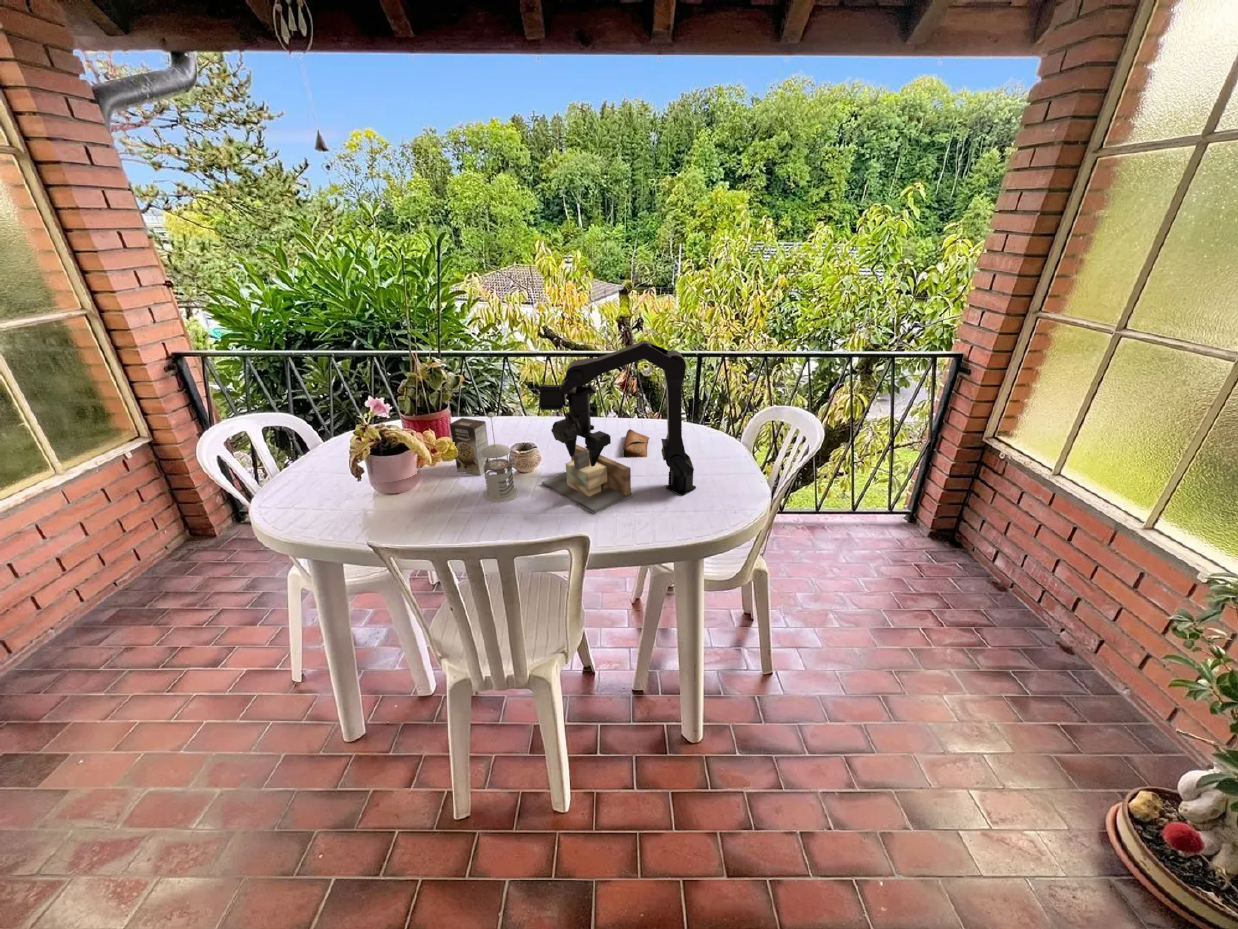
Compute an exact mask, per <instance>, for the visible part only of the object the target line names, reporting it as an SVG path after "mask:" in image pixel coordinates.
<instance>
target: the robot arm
mask: <svg viewBox="0 0 1238 929" xmlns="http://www.w3.org/2000/svg"><path fill="white" fill-rule="evenodd" d="M643 360H645V361H647V362H649V363H651V364H652V365H654V366H656V367H657V368H658V369H662V371H663V375H664V380H665V385H666V412H667V415H666V416H667V418H666V419H667V421H666V422H667V434H666V438H660V439H661V440H660V441H661V445H662V447H661V450H660V451H661V455H662V460H663V461H665V464H666V466H667V467H668V468H669V471H668V485H666V486H665V489H667V490H668V491H671V492H672V493H675V494H678V495H680V496H685V495H687V494H688V493H690V492H692V491H695V489H697V486H696V485H694V471H695V468H694V465H693V461H692V460H691V457H690V455H688V454H687V453H686V449H685V444H684V440H683V437H682V434H683V432H682V430H683V428H682V427H683V426H682V420H683V417H682V416H683V415H682V413H683V412H682V411H683V410H682V388H683V384H684V380H685V376H686V370H687V364H686V363H687V362H686V360H685V359H684V357H683V355H682V353H680V351H678V350H675V349H670V350H668V349H667V348H664V347H660V346H658V345H656V344H653V343H651V342H650V341H648V340H641V341H639V342H638V343H635V344H632V345H629V346H627V347H622V348H621V349H619V350H616V351H613V352H610V353H608V354H607V353H606V354H604V355H602V356H599V357H593V358H592V357H591V358H590V357H589V358H582V359H576V360H573V361H571V362H570V363H569V365H568V366H567V368H566V369H567V370H566V373H565V377H564V378H563V379H562V381H561V384H547V383H544V384H540V386H539V408H540V411H557V410H558V411H560V410H563V409H564V407H566V406H567V405H568V412H565V414H564V417H565V418H562V419H560V420H558V421H554V423H553V424H552V426H551V427H552V428H551V434H552V435H553V438H554V439H555V441H558V442H560V443H561V444H564V445H565V448H566V450H567V453H568V455H569V457H570V458H571V457H573V456H574V454H575V448H576V445H577V439H578V437H581V438H583V439H584V443H585V446H584V448H586V449H588V450H589V456H590V463H591V466H592V467H593V466H595V464H596V462H597V460H598V458H599V455H601V453H602V452H603V449H604V448H605V447H607V446H608V445H610V444H611V440H612V439H611V435H610V434H609V433H606V432H603V431H601V430H598V431H595V432H592V431H593V430H595V425H593V424H592V423H591V417H592V416H594V415H595V414H594V411H592V410H591V406H590V404H591V403H590V395H595V394H596V393H597V388H596V387H595V386H594V385H593V384H592V383H591V382H593V380H595V379H596V378H597V377H599V376H601V375H603V374H604V373H605V374H606V373H609V372H611V371H614V370H616V369H619V368H622V367H626V366H628V365H630V364H633V363H636V362H638V361H643ZM567 398H568V400H567ZM567 402H568V404H567Z"/></svg>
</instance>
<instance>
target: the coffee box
mask: <svg viewBox="0 0 1238 929" xmlns="http://www.w3.org/2000/svg"><path fill="white" fill-rule="evenodd" d="M449 429H450V433H451V434H450V435H451V440H452V443H453V442H455V446H456V448H457V450H458V456H457V457H455V456H454V459H455V463H456V464H455V465H456V471H457V472H460V473H464V472H465V473H464V474H469V473H470V475H475V476H482V475H484V469H485V464H486V463H487V462H488V461H491V458H486V457H484V456H483V455H482V454H481V451H482V450H483V449H484V448H486V447H488V446H489V440H488V439H489V438H488V432H487V431H488V430H487V423H486V421H485V420H478V419H472V418H464V417H461V418H460V419H457V420H454V421H453V422H451V423H449ZM486 472H489V470H487V471H486Z"/></svg>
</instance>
